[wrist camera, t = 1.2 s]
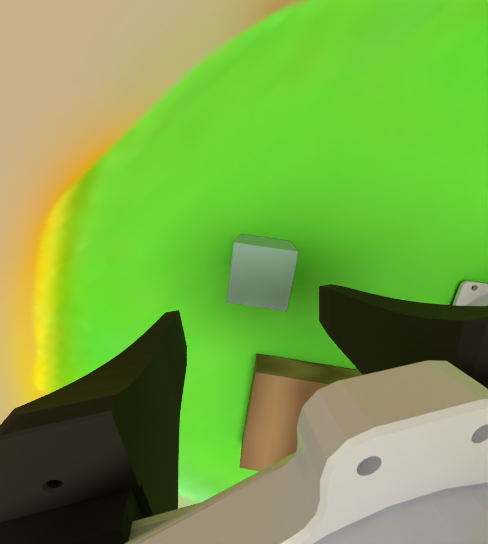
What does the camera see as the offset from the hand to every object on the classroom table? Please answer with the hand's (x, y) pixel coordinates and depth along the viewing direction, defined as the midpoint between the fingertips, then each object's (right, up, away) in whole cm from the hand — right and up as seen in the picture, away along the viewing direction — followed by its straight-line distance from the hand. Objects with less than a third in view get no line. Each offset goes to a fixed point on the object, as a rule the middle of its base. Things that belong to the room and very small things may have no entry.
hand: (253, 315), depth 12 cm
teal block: (+1, +3, +11) cm, 11 cm away
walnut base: (+6, -13, +15) cm, 21 cm away
